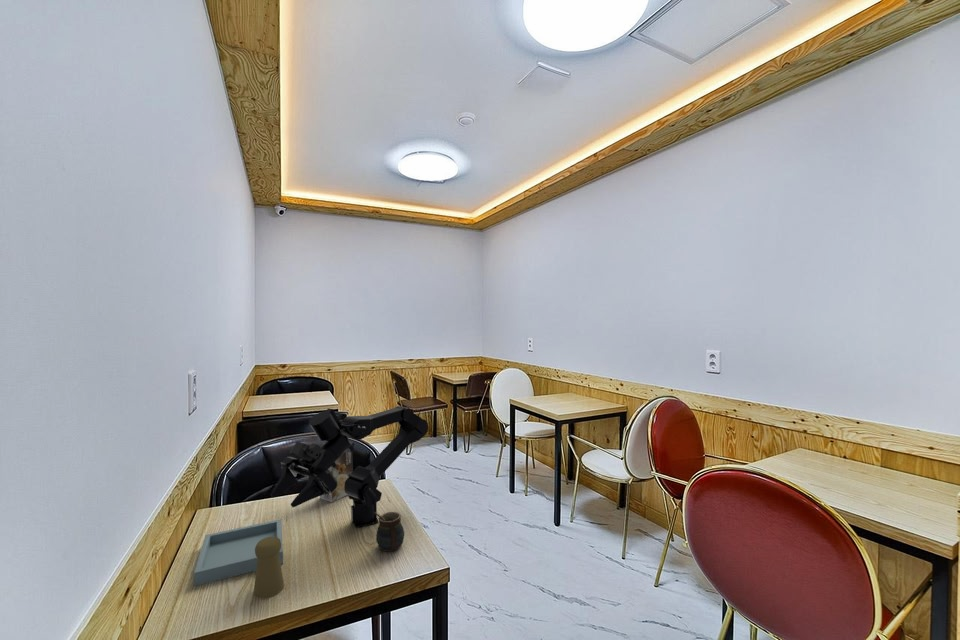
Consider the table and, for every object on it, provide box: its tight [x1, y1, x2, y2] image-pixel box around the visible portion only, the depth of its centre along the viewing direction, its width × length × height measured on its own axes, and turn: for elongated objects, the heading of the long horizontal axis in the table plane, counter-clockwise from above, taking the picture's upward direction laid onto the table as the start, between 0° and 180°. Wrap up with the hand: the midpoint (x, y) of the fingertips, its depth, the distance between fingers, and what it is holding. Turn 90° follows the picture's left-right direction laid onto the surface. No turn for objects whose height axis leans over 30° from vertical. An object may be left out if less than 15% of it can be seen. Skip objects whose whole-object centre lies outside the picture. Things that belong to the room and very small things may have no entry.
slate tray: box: [193, 518, 284, 587], centre depth 105 cm, size 18×18×3 cm
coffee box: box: [319, 451, 354, 503], centre depth 139 cm, size 9×6×16 cm
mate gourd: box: [374, 511, 405, 552], centre depth 108 cm, size 7×8×10 cm
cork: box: [253, 537, 285, 600], centre depth 92 cm, size 6×6×11 cm
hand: (281, 501), depth 101 cm, fingers open, 9 cm apart
